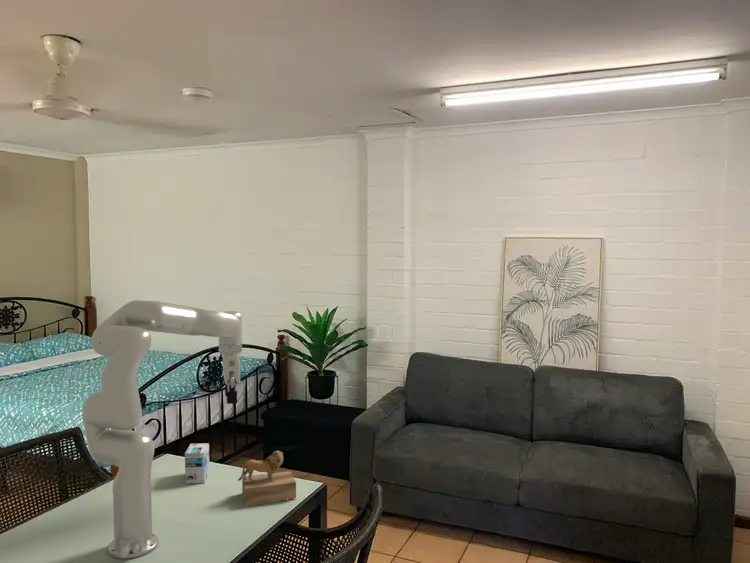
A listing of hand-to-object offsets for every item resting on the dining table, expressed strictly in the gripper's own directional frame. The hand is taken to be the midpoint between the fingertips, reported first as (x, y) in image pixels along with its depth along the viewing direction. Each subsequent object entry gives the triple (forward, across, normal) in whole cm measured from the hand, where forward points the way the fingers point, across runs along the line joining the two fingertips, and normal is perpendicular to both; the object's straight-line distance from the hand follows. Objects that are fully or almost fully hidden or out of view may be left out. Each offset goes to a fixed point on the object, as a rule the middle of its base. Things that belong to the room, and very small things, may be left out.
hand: (231, 399), depth 196 cm
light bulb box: (+31, +13, +11) cm, 35 cm away
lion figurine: (+25, -9, -9) cm, 28 cm away
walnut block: (+31, -10, -11) cm, 34 cm away
